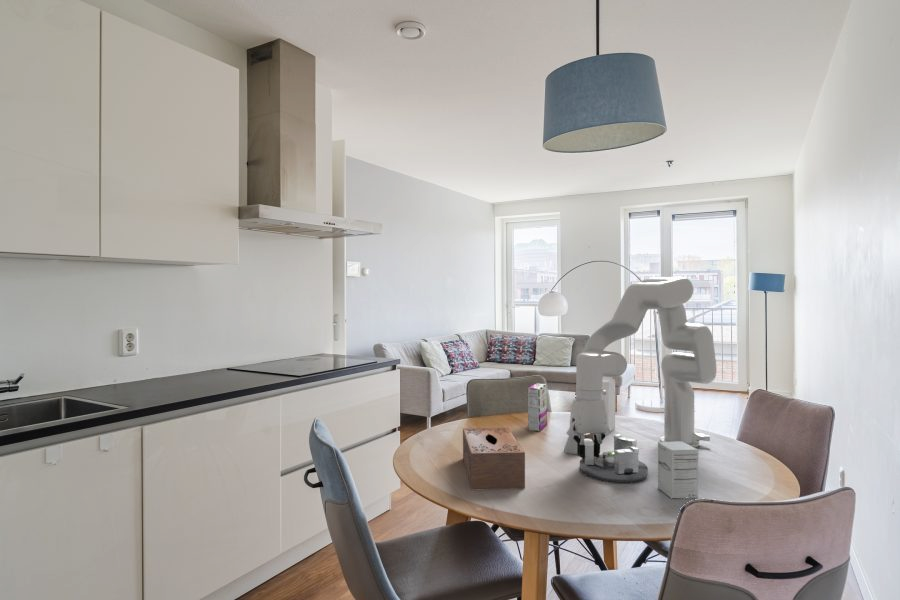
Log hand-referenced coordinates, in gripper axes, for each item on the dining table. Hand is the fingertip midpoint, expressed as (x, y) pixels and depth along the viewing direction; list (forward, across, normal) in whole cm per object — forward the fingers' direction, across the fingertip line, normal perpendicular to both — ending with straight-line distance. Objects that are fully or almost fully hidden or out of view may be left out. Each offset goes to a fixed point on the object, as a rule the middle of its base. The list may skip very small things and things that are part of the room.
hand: (588, 456), depth 150 cm
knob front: (+2, 0, -1) cm, 2 cm away
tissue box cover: (+5, +28, -5) cm, 29 cm away
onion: (+4, -15, -28) cm, 32 cm away
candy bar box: (+4, -5, -48) cm, 49 cm away
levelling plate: (+4, -6, +3) cm, 8 cm away
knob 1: (+2, -12, 0) cm, 13 cm away
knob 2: (+2, -6, +10) cm, 12 cm away
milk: (+4, -29, -40) cm, 49 cm away
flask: (+4, -4, -17) cm, 18 cm away
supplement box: (+4, -14, +22) cm, 26 cm away
